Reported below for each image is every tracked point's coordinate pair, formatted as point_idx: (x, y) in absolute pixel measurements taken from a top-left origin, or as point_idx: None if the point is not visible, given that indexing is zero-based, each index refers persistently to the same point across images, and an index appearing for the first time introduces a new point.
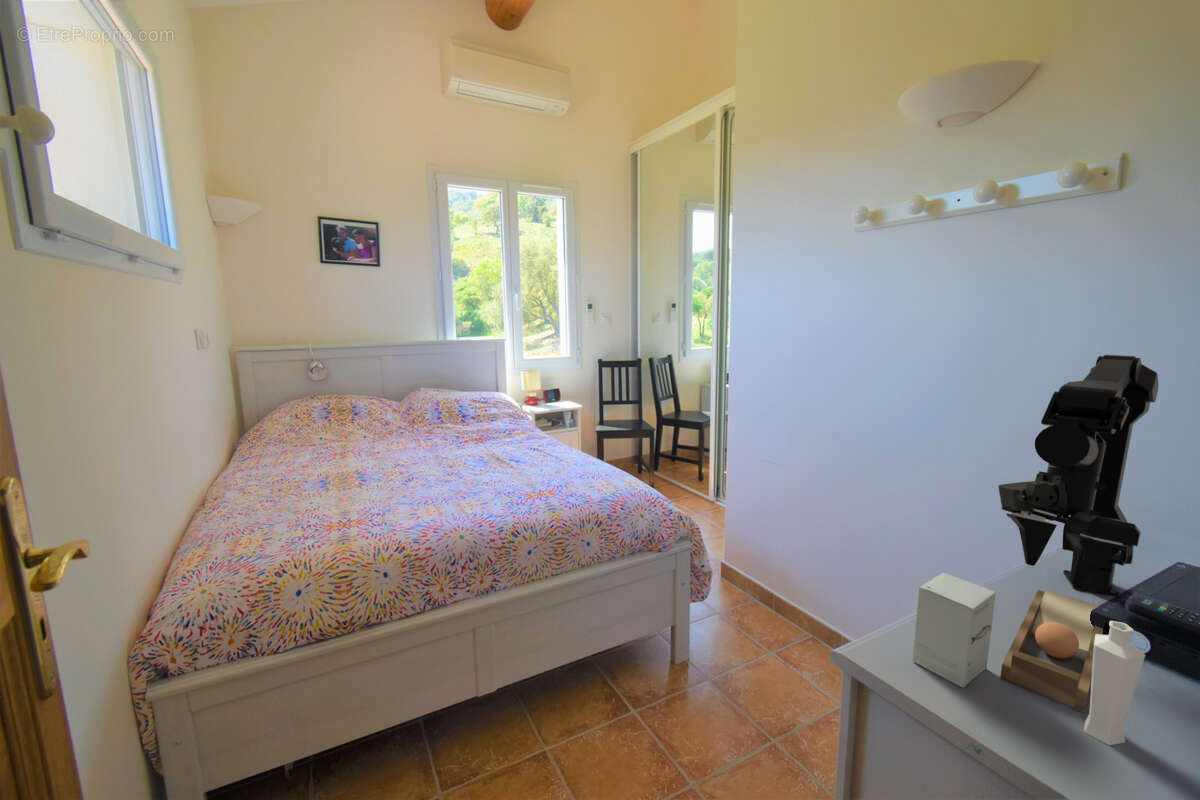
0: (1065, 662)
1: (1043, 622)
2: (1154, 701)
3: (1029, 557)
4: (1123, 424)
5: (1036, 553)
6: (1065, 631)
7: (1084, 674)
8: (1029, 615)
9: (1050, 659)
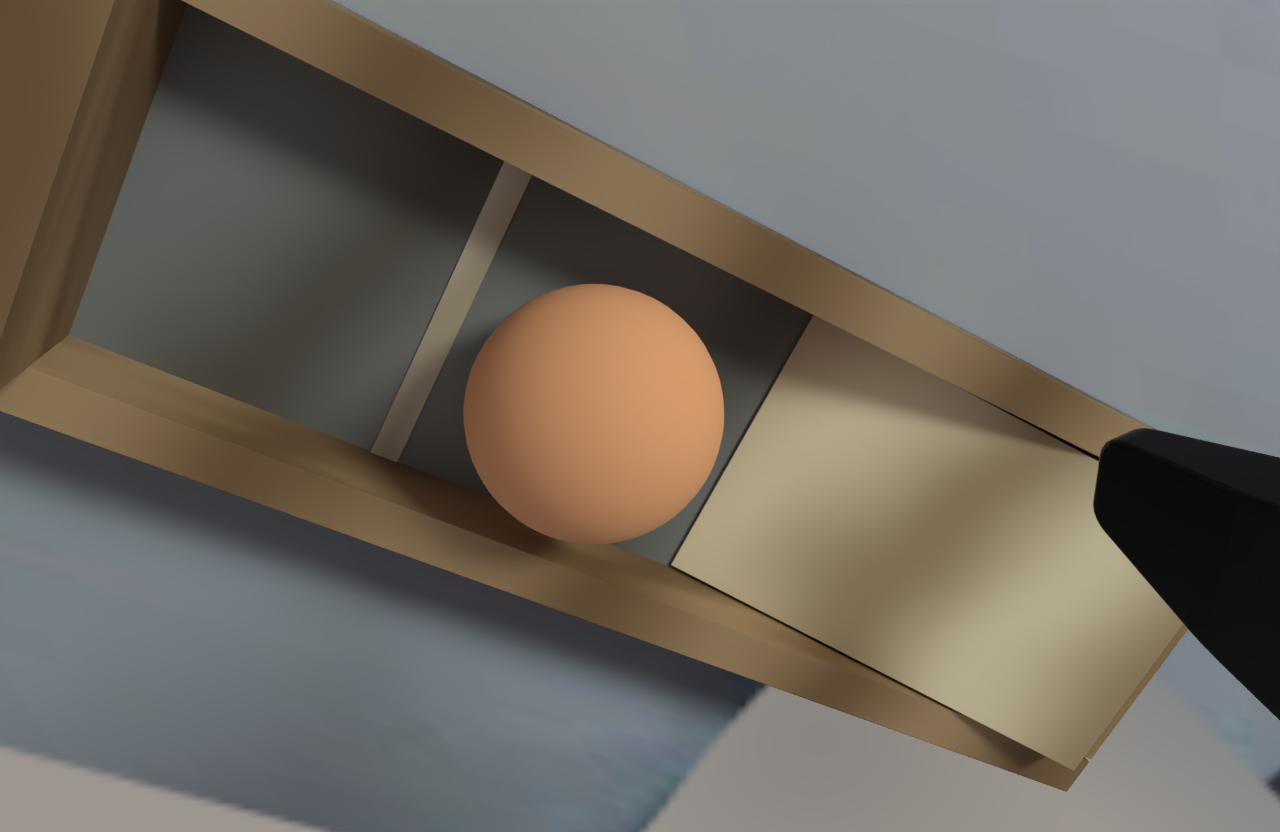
0: None
1: (912, 416)
2: (312, 714)
3: (1197, 511)
4: None
5: (1263, 640)
6: (550, 487)
7: (232, 457)
8: (925, 340)
9: None
